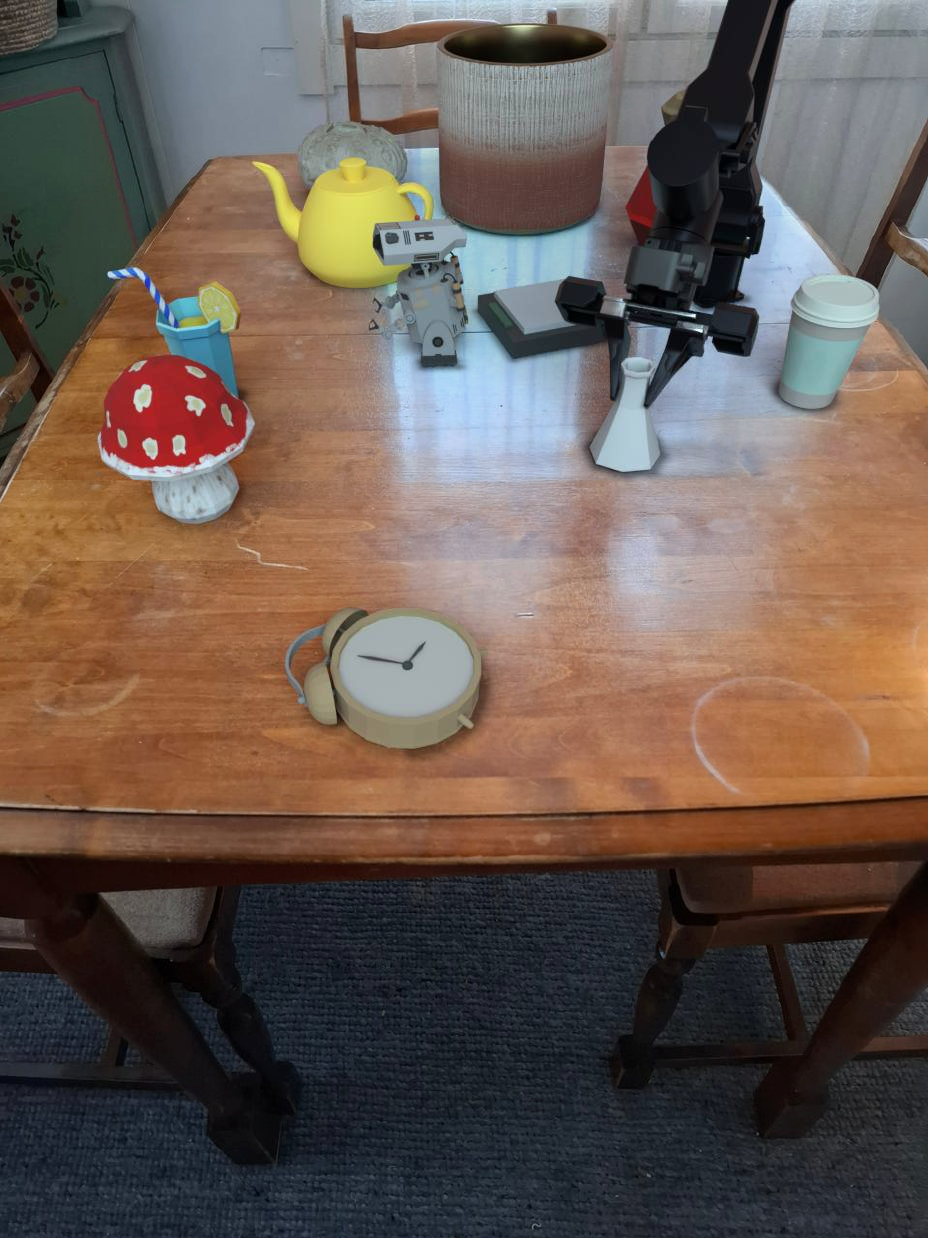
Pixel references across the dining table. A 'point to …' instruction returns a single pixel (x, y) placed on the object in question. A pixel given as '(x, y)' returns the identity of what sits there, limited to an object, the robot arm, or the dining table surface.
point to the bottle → (648, 185)
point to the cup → (197, 324)
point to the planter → (522, 125)
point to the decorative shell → (349, 150)
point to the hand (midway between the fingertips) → (629, 403)
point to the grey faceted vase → (629, 423)
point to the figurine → (425, 284)
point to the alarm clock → (393, 675)
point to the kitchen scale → (532, 320)
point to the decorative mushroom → (176, 435)
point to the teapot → (346, 221)
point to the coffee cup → (825, 336)
